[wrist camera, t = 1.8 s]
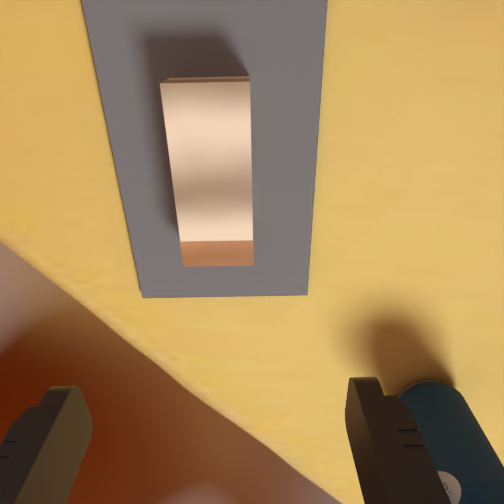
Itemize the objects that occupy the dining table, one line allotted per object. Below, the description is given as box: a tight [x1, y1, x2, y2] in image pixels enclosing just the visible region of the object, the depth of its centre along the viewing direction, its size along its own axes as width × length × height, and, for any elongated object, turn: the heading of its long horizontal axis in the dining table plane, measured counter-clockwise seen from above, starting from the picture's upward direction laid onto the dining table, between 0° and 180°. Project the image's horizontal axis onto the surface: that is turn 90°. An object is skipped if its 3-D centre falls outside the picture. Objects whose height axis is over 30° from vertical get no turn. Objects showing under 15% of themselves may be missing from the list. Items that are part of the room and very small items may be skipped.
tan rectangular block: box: [160, 76, 254, 267], centre depth 25 cm, size 12×5×3 cm, turn 1°
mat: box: [82, 0, 327, 298], centre depth 27 cm, size 22×14×1 cm, turn 1°
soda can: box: [398, 380, 504, 504], centre depth 34 cm, size 7×7×12 cm
